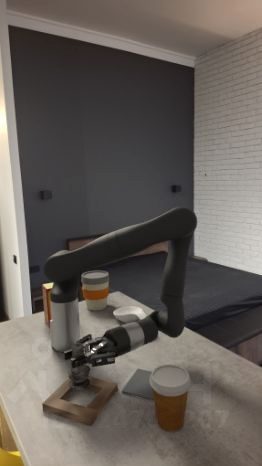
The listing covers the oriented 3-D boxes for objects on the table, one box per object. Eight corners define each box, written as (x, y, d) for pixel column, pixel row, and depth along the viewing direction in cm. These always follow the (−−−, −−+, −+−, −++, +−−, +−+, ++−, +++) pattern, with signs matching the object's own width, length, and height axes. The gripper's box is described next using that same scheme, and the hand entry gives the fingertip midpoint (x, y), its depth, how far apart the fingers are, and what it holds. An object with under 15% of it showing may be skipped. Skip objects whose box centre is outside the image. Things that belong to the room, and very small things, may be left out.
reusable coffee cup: (99, 314, 137) (97, 280, 135) (76, 308, 144) (74, 276, 141) (116, 304, 148) (114, 272, 145) (94, 299, 154) (92, 269, 152)
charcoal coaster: (121, 392, 86) (121, 390, 86) (137, 370, 96) (137, 368, 96) (160, 403, 82) (160, 401, 82) (173, 378, 92) (173, 376, 92)
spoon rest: (109, 317, 134) (108, 301, 133) (134, 311, 139) (133, 296, 138) (135, 342, 113) (135, 323, 112) (163, 334, 118) (163, 316, 117)
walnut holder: (42, 410, 80) (42, 403, 80) (74, 378, 93) (74, 372, 93) (91, 426, 75) (90, 418, 74) (117, 390, 87) (117, 383, 87)
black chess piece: (86, 391, 80) (84, 347, 78) (64, 389, 81) (61, 345, 79) (94, 377, 85) (92, 335, 83) (73, 375, 87) (70, 333, 85)
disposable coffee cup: (147, 409, 80) (146, 364, 78) (185, 405, 81) (185, 361, 79) (153, 439, 71) (152, 390, 69) (196, 435, 71) (196, 386, 69)
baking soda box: (48, 327, 126) (45, 288, 124) (44, 321, 132) (41, 283, 129) (72, 321, 131) (69, 283, 128) (67, 315, 136) (64, 279, 134)
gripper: (110, 317, 95) (55, 335, 85) (139, 336, 84) (79, 359, 74) (111, 341, 96) (57, 361, 87) (139, 362, 85) (81, 388, 75)
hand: (68, 360), depth 80 cm, fingers closed on black chess piece, 3 cm apart
